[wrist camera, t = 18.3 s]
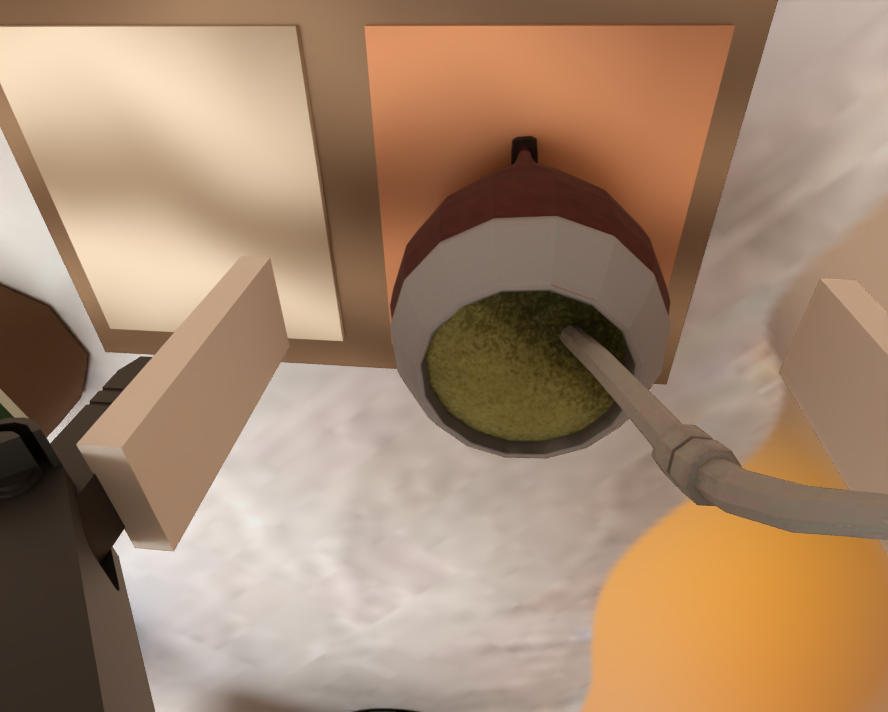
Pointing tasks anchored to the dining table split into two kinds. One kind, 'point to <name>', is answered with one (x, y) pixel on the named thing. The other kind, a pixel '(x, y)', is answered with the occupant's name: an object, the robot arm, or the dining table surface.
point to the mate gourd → (568, 342)
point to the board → (352, 139)
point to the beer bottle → (37, 362)
